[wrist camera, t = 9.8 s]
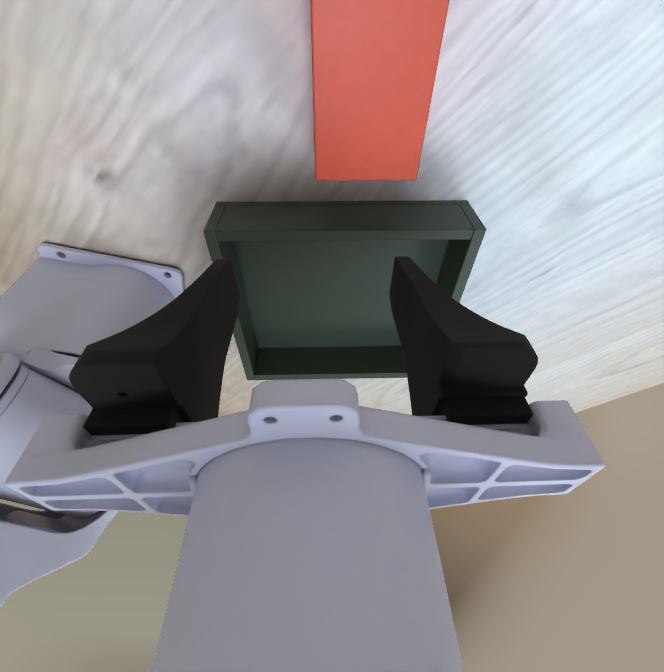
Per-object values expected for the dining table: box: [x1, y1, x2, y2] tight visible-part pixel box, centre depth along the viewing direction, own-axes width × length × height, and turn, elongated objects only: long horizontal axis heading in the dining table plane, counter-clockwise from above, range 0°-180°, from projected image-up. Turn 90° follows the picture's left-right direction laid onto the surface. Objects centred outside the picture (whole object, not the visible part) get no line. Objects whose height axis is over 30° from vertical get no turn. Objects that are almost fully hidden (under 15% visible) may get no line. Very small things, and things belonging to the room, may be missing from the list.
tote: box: [203, 201, 486, 380], centre depth 26 cm, size 16×14×4 cm
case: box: [311, 0, 449, 181], centre depth 15 cm, size 5×9×4 cm, turn 0°
